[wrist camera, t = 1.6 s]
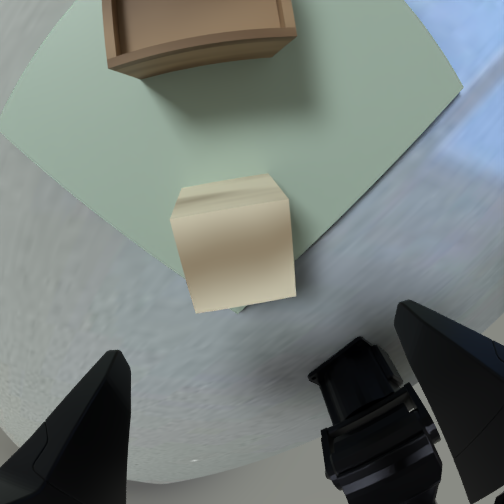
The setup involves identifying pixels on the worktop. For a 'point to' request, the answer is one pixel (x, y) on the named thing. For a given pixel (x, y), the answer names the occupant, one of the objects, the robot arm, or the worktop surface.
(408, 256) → the worktop surface
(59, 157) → the board
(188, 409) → the worktop surface
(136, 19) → the walnut socket block
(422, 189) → the worktop surface
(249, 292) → the ash block
